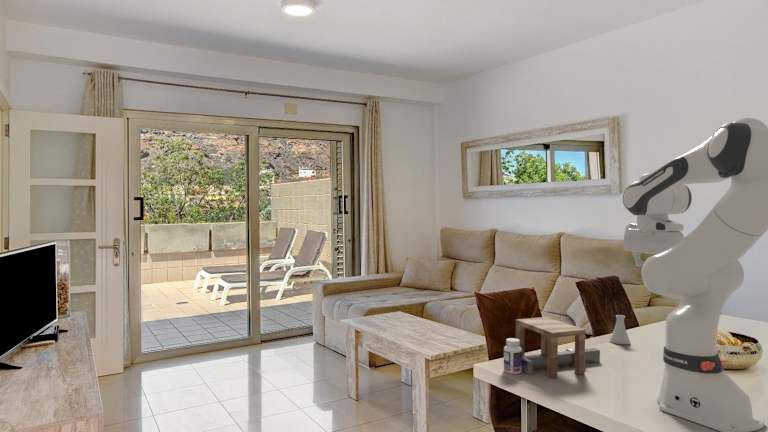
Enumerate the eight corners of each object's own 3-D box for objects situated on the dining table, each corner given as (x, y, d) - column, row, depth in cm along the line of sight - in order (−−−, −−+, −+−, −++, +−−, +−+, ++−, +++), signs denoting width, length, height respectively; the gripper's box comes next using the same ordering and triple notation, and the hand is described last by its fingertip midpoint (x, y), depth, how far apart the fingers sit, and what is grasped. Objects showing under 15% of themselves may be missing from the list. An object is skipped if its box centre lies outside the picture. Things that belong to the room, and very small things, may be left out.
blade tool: (606, 364, 159) (606, 352, 159) (528, 375, 149) (528, 361, 149) (587, 357, 166) (588, 345, 166) (512, 366, 156) (513, 354, 156)
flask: (626, 340, 188) (626, 314, 188) (634, 345, 181) (634, 318, 181) (606, 339, 189) (606, 313, 189) (613, 344, 182) (613, 317, 182)
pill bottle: (522, 369, 153) (522, 338, 153) (521, 375, 148) (521, 342, 148) (504, 367, 155) (504, 336, 155) (502, 373, 150) (503, 341, 150)
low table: (584, 374, 149) (585, 329, 149) (551, 378, 145) (552, 332, 145) (545, 357, 166) (546, 316, 166) (515, 360, 162) (515, 319, 162)
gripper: (618, 223, 166) (618, 264, 166) (672, 225, 147) (672, 272, 147) (633, 223, 168) (632, 263, 169) (688, 225, 149) (687, 271, 149)
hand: (651, 267), depth 158 cm, fingers open, 8 cm apart
